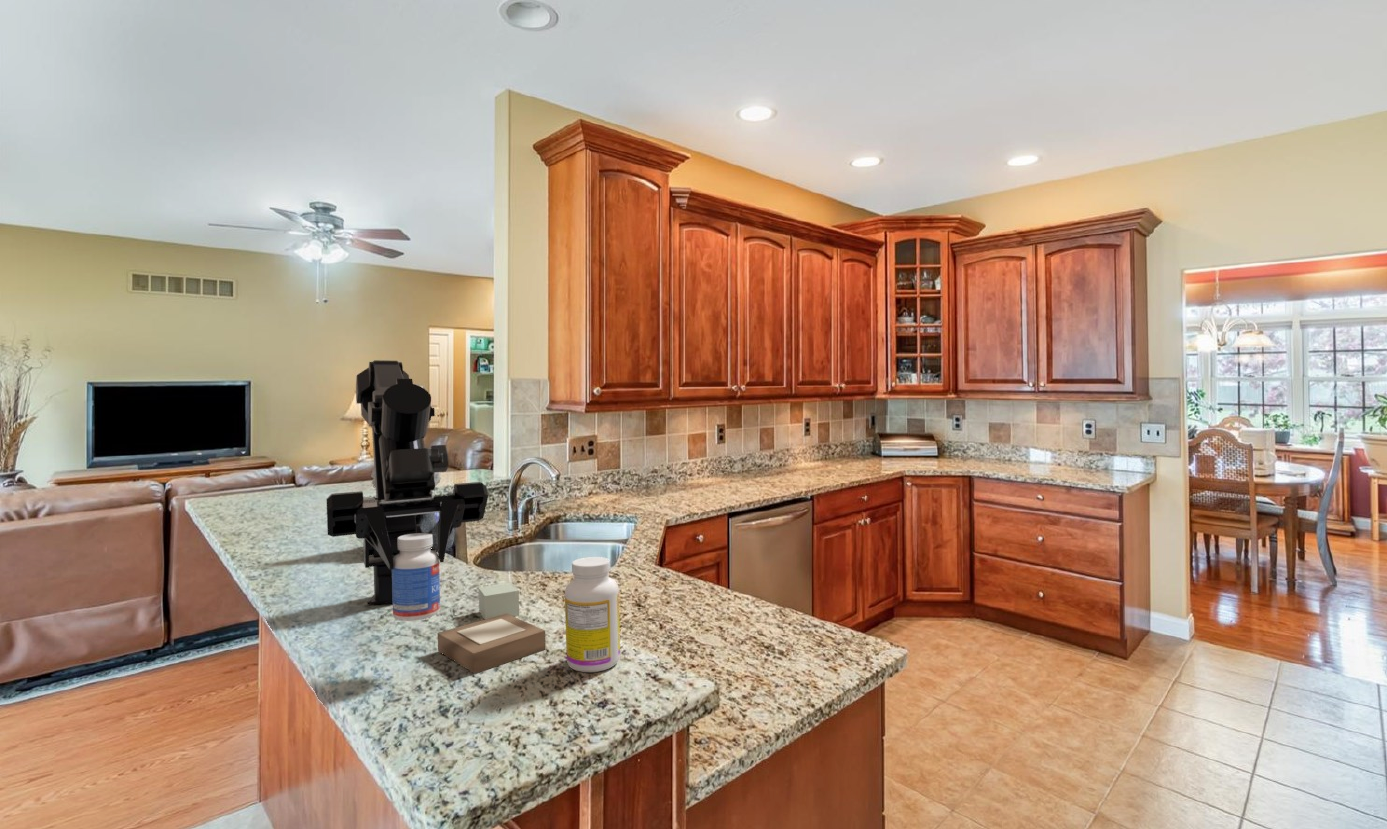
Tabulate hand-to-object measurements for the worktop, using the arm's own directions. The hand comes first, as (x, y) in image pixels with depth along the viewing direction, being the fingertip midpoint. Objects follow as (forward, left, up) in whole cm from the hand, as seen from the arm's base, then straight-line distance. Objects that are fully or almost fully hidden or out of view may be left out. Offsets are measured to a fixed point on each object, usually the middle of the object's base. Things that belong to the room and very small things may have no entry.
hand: (417, 564), depth 77 cm
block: (-20, +7, -13) cm, 25 cm away
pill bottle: (-1, -1, -7) cm, 7 cm away
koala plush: (-71, -18, -14) cm, 74 cm away
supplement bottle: (+2, +21, -13) cm, 25 cm away
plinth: (-5, +8, -13) cm, 16 cm away
